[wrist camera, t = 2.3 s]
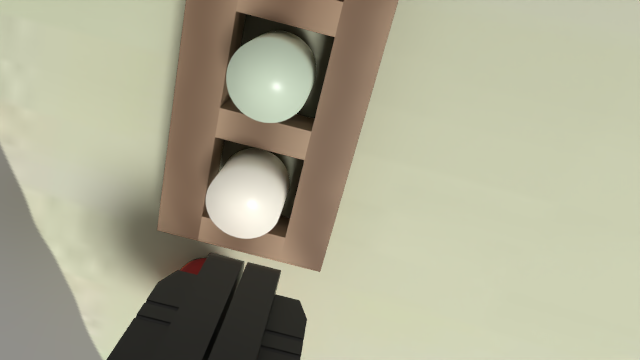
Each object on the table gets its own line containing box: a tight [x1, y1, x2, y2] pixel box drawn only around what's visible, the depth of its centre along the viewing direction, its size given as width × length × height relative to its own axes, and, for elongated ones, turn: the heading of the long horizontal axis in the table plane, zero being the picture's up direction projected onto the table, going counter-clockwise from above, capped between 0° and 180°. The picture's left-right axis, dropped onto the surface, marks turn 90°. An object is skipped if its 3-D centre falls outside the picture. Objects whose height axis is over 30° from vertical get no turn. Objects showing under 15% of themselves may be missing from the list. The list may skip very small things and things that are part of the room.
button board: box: [157, 0, 398, 272], centre depth 32 cm, size 12×26×3 cm, turn 166°
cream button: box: [206, 148, 290, 239], centre depth 33 cm, size 5×5×4 cm
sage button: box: [226, 31, 317, 123], centre depth 30 cm, size 5×5×4 cm
